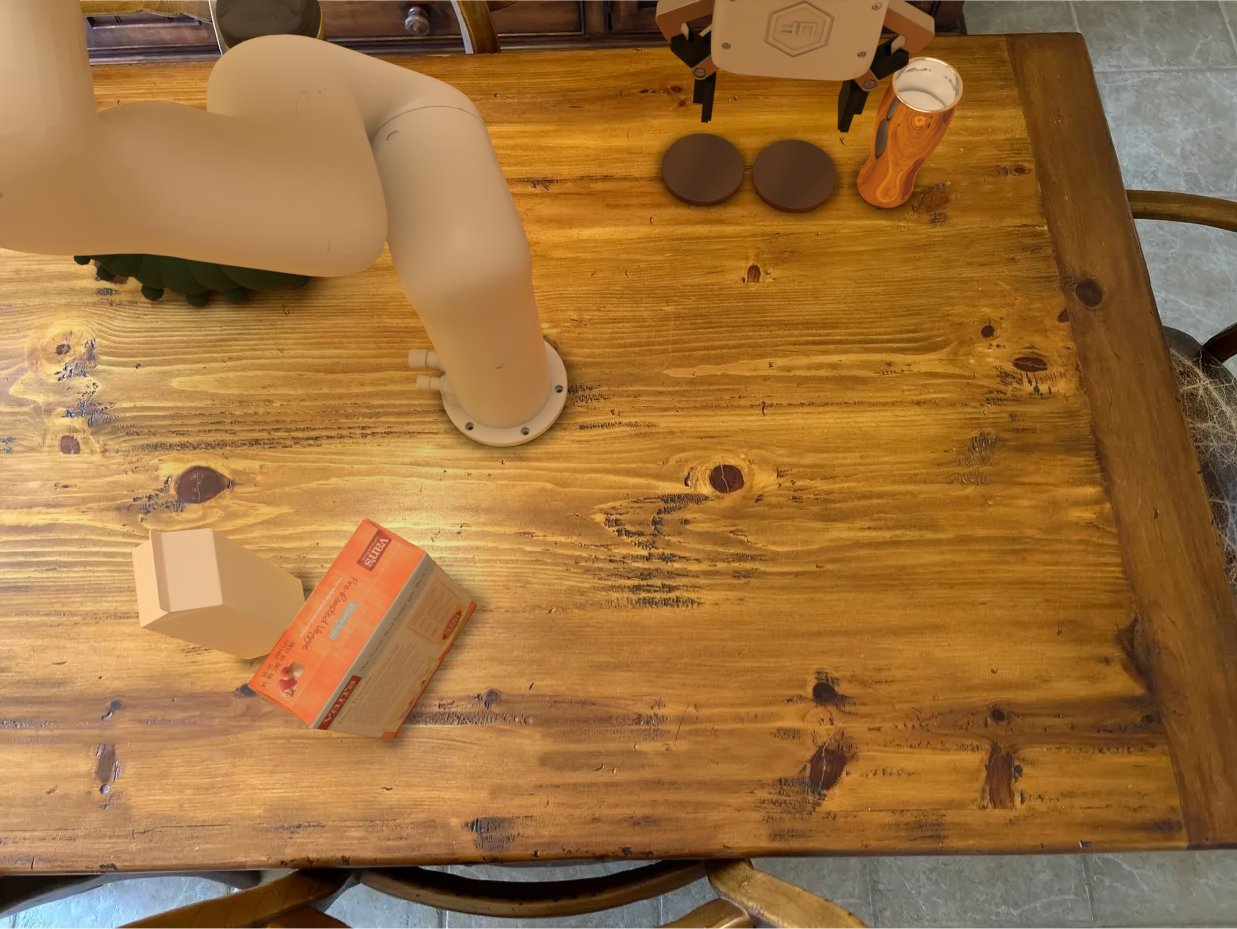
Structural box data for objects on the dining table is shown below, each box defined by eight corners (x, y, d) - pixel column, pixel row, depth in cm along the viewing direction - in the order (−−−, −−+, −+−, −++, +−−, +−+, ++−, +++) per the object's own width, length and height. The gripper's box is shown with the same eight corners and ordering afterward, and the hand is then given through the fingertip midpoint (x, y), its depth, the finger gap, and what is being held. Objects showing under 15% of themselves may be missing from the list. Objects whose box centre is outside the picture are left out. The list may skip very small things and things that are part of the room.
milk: (248, 660, 81) (112, 623, 60) (238, 597, 82) (103, 539, 62) (314, 641, 81) (202, 597, 60) (303, 578, 83) (190, 515, 62)
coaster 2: (750, 209, 96) (751, 205, 95) (754, 141, 99) (755, 136, 98) (833, 215, 95) (835, 211, 95) (835, 147, 98) (836, 142, 98)
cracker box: (426, 573, 83) (363, 510, 63) (480, 605, 82) (432, 552, 62) (337, 706, 79) (240, 684, 59) (393, 742, 78) (312, 731, 58)
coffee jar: (368, 99, 101) (313, -42, 84) (364, 156, 99) (306, 23, 81) (284, 102, 101) (211, -38, 84) (277, 159, 99) (201, 27, 81)
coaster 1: (658, 202, 96) (658, 198, 95) (664, 135, 99) (665, 130, 98) (741, 208, 96) (741, 204, 95) (745, 140, 99) (745, 135, 98)
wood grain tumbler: (913, 216, 95) (962, 119, 81) (848, 206, 96) (886, 107, 82) (919, 164, 97) (968, 60, 83) (855, 154, 98) (894, 49, 84)
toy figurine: (134, 333, 94) (363, 308, 92) (-3, 231, 76) (278, 196, 74) (144, 256, 97) (366, 230, 95) (15, 141, 79) (285, 105, 77)
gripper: (655, -75, 46) (648, 146, 62) (993, -55, 45) (897, 164, 61) (666, -177, 48) (657, 61, 64) (987, -159, 48) (896, 77, 64)
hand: (774, 111), depth 63 cm, fingers open, 9 cm apart
